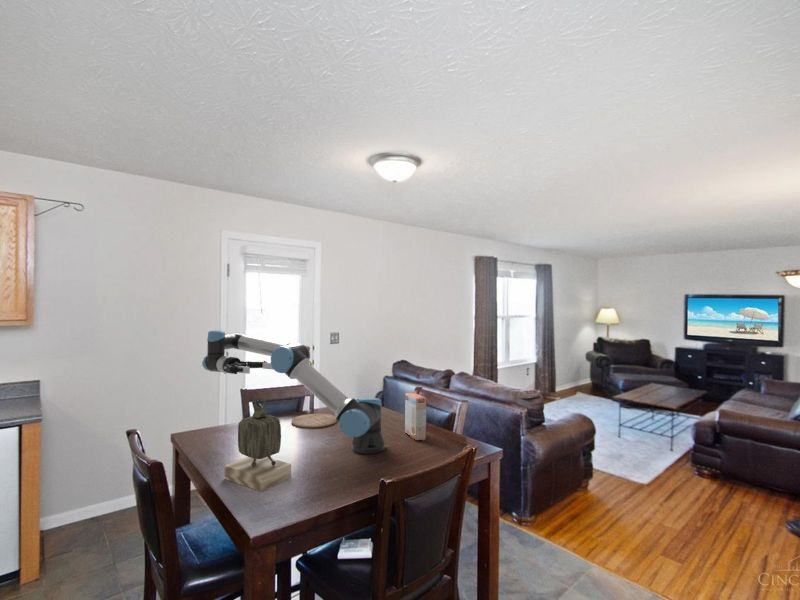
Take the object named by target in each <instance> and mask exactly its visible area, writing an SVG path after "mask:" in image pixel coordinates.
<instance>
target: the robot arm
mask: <svg viewBox="0 0 800 600" xmlns="http://www.w3.org/2000/svg"><path fill="white" fill-rule="evenodd" d="M230 349H235V350H241V351H245V352H249V353H254V354H260V355H264V356H268V357H270V362H268V361H266V360H263V361H244V360H241V359H240V358H239V357H236V356H228V355H227V356H226V354H225V353H226V351H225V350H230ZM310 358H311V352H310V349H309V348H308V347H307V346H306V345H304V344H303V343H299V342H298V343H297V342H290V341H288V342H287V343H285V342H281V341H280V342H279V341H276V340H275V341H274V340H270V339H265V338H259V337H254V336H250V335H245V334H244V333H242V332H233V333H226V332H225V330H209V331H208V333H207V354H206V356H204V357H203V360H202V367H203V368H204V370H206V371H209V372H215V373H216V372H217V373H223V374H225V375H226V374H234V375H237V374H238V373H239V374H247V375H248V374H250V373H251V370H250V369H264V370H274V371H275V372H276V373H278V374H284V375H286V376H287V377H288V378H289V379H290V380H297V381H298V382H299V383H300V384H301V385H302V386H304V388H305V389H307V391H309V392H310V393H311V394H312V395H314V397H316V398H317V399H318V400H319V402H321V404H323V405H324V406H326V407H327V408H328V409H329V410H330V411H332V413H333V414H334V416H335V418H336V420H337V422H338V423H339V428H340V430H341V432H342V433H343V434H344V435H346V436H347V437H350V438H353V439H352V443H351V450H352V451H353V452H355V453H358V454H361V455H362V454H363V455H370V454H371V455H372V454H373V453H374V454H377V453H381V452H383V451H384V450H385V448H386V443H385V440H384V436H383V433H382V407H383V405H382V400H381V399H380V398H378V397H377V398H376V397H369V396H368V397H365V396H363V397H358V398H356V399H355V398H354V397H351V398H349V397H348V396H346V395H345V394H344V393H343V392H342V391H341V390H340V389H339V388H338V387H336V386H335V385H334V384H332V382H330V381H329V380H328V379H327V378H326V377H325V376H324V375H322V373H320V372H319V371H318V370H317V369H316V368H315V367H313V366H312V365H311V364H310ZM382 450H383V451H382ZM380 451H381V452H380ZM374 454H373V455H374Z"/></svg>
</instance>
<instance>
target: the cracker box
mask: <svg viewBox="0 0 800 600" xmlns="http://www.w3.org/2000/svg"><path fill="white" fill-rule="evenodd" d="M404 395H405V399H404V401H405V403H404V404H405V405H404V407H405V408H404V411H405V415H404V421H405V422H404V434H405V433H407V434H408V435H410V436H411V437H412V438H414V439H415V440H419V439H426V440H427V397H425V396H423V395H420V394H418V393H417V392H406V393H405V394H404ZM407 434H406V435H407ZM408 435H407V436H408ZM411 437H410V438H411ZM412 438H411V439H412ZM414 439H413V440H414ZM415 440H414V441H415Z"/></svg>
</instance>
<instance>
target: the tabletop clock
mask: <svg viewBox="0 0 800 600" xmlns="http://www.w3.org/2000/svg"><path fill="white" fill-rule="evenodd" d="M257 400H260V401H262V402H263V403H264V407H262V405H261V404H260V405H258V406H257V405H256V401H257ZM253 406H254V408H256V410H255V411H254V412H253V414H252V416H248V417H244V418H242V419H241V420H240V421H239V424H238V428H237V429H238V430H237V446H238V447H237V448H238V452H239V454H240V455H243V456H244V457H245V456H246V457H251V458H253V459H254V462H253V463H252V466H253V467H255V466H256V462H255V461H256V459H263V458H265V457H267V458H269V459H270V460H271V461H272V462H271V464H272V465H275V464H276V462H275V461H273V460H272V459H273V458H272V457H271V456H273V455H276V454H279V453H280V450H281V443H282V427H281V426H282V425H281V420H280V419H279V418H278V417H277V416H275V415H271V414H267V412H266V410H265V409H266V407H267V402H266V400H265V399H264V398H261V397H256V398H254V400H253Z"/></svg>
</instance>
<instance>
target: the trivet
mask: <svg viewBox="0 0 800 600" xmlns="http://www.w3.org/2000/svg"><path fill="white" fill-rule="evenodd" d="M336 422H338V421H337V420H336V418H335V415H333V414H329V413H309V414H301V415H297V416H296V417H294V418H292V420H291V426H293V427H294V426H296V427H295V428H298V427H299V428H298V429H303V428H317V429H323V428H322V427H324V428H328V427H327V426H329V427H331V426H330V425H332V426H334V425H336V424H337V423H336ZM333 424H334V425H333Z"/></svg>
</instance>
